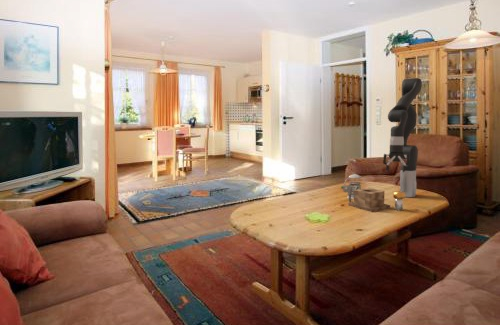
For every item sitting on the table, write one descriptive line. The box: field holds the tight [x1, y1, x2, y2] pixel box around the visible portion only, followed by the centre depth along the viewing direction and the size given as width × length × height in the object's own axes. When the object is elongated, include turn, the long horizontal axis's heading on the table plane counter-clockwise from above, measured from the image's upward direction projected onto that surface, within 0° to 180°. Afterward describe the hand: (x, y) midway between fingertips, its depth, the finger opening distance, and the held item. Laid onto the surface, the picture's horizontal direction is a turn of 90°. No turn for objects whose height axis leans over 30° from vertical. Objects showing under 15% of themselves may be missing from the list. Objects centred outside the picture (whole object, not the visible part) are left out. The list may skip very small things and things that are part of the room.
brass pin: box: [392, 190, 406, 211], centre depth 196 cm, size 6×6×10 cm
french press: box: [343, 159, 362, 200], centre depth 227 cm, size 10×12×25 cm
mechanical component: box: [340, 184, 359, 203], centre depth 217 cm, size 3×10×10 cm, turn 78°
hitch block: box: [347, 187, 391, 213], centre depth 204 cm, size 15×18×10 cm
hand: (395, 171), depth 205 cm, fingers open, 8 cm apart
